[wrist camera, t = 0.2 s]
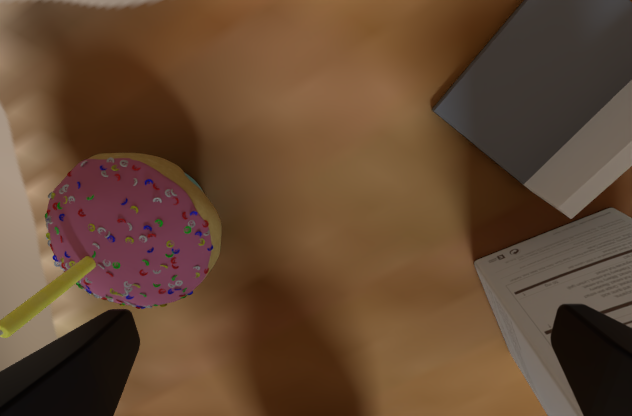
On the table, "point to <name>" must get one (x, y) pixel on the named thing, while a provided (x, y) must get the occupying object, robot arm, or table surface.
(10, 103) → the table surface
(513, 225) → the table surface
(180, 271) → the cupcake
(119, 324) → the robot arm
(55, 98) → the table surface
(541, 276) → the supplement box
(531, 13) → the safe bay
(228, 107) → the table surface
